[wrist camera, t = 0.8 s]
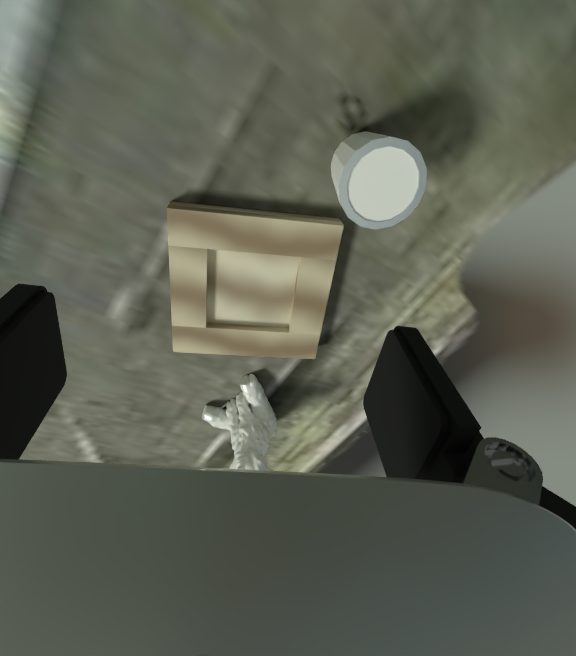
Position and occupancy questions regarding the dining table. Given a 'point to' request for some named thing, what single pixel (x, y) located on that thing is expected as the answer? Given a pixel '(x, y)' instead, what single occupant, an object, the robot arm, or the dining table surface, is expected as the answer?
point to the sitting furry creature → (246, 424)
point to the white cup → (378, 178)
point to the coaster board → (249, 279)
